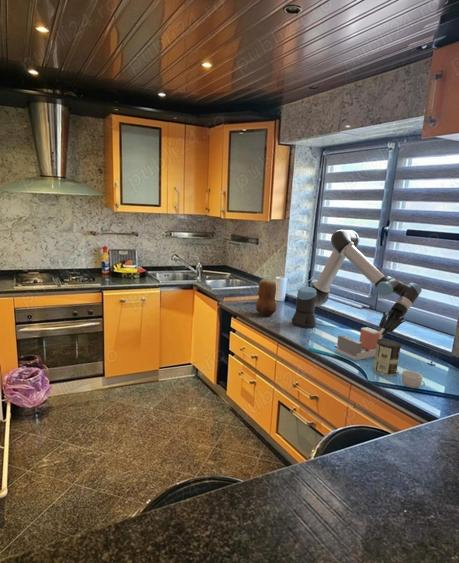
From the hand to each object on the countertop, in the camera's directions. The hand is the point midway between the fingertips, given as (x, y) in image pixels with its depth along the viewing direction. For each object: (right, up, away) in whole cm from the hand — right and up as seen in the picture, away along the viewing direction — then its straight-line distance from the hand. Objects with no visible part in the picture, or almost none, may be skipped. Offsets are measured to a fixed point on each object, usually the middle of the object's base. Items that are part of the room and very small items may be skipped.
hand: (377, 338), depth 203 cm
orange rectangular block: (-6, -4, -3) cm, 8 cm away
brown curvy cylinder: (-55, +8, +55) cm, 78 cm away
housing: (-11, -6, -5) cm, 14 cm away
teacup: (-2, -14, -43) cm, 45 cm away
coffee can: (-8, -11, -28) cm, 31 cm away
